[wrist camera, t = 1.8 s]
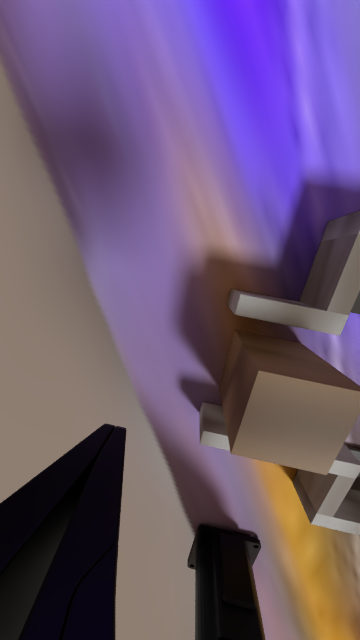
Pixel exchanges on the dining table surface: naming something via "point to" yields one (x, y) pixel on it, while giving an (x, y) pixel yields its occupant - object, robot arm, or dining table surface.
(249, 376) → the block
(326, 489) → the trap lane
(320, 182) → the dining table surface
